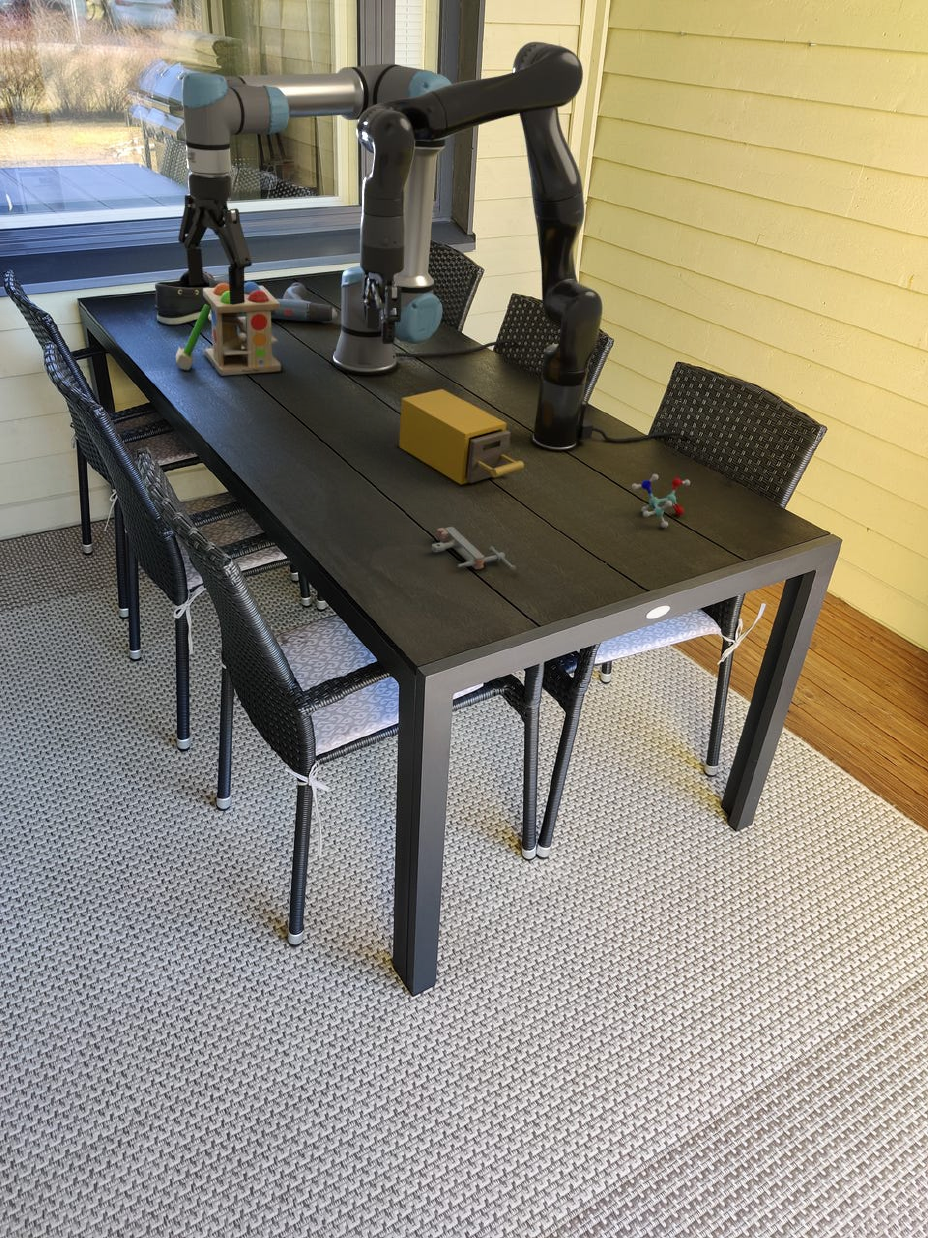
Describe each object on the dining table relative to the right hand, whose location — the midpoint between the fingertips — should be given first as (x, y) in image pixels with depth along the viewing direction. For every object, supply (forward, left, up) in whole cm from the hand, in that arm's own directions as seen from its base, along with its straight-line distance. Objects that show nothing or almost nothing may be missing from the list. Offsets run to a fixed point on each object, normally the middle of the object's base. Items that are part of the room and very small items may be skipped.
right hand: (380, 335), depth 174 cm
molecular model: (-42, +34, -27) cm, 61 cm away
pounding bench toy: (+9, -64, -27) cm, 70 cm away
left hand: (+20, -30, 0) cm, 36 cm away
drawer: (-18, +4, -26) cm, 32 cm away
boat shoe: (+2, -106, -27) cm, 109 cm away
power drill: (-24, -96, -27) cm, 102 cm away
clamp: (-1, +34, -27) cm, 44 cm away
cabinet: (-17, -1, -27) cm, 32 cm away
